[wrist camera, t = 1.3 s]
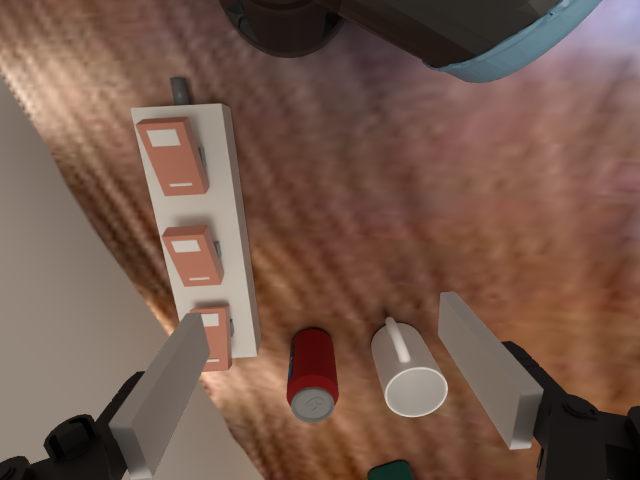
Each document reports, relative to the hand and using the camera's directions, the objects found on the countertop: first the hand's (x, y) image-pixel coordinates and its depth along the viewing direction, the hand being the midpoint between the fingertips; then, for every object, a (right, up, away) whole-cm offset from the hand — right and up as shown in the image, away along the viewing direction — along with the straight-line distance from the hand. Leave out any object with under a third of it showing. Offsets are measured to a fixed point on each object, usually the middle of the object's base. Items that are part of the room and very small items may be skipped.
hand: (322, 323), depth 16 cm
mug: (+11, -10, +32) cm, 36 cm away
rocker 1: (-16, +13, +16) cm, 26 cm away
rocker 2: (-15, +3, +19) cm, 25 cm away
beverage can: (-1, -12, +32) cm, 34 cm away
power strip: (-15, +6, +25) cm, 30 cm away
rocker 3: (-15, -8, +23) cm, 29 cm away
